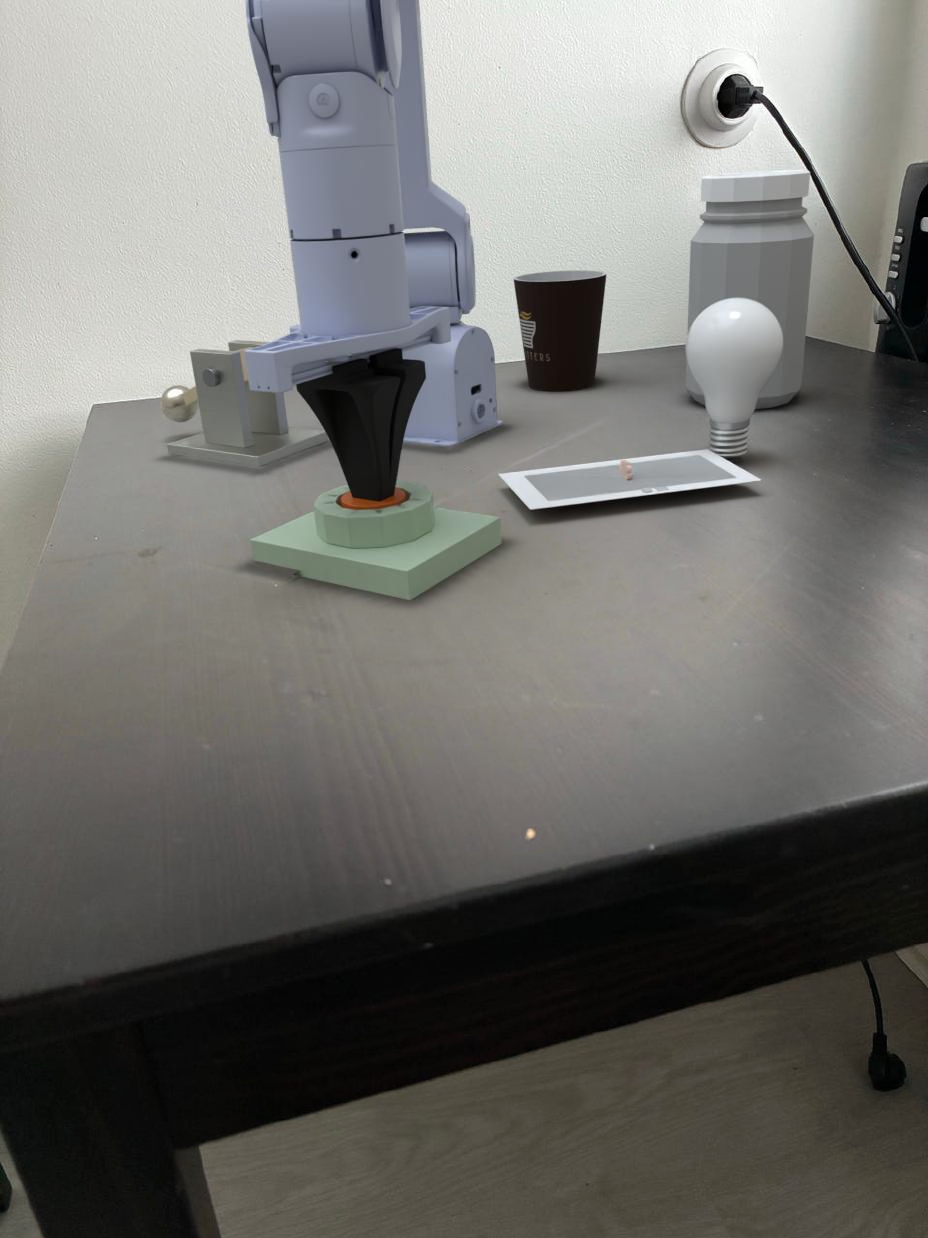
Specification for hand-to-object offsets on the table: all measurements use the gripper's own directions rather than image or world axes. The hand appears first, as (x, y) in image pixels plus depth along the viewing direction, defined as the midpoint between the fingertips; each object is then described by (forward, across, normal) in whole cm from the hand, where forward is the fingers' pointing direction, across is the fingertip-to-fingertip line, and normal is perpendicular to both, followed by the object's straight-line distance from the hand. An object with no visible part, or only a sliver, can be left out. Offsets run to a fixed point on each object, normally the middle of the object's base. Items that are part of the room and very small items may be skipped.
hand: (373, 496), depth 55 cm
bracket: (+3, -14, -24) cm, 28 cm away
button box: (+4, 0, 0) cm, 4 cm away
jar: (+4, -44, +6) cm, 45 cm away
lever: (0, -14, -27) cm, 31 cm away
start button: (+2, 0, 0) cm, 2 cm away
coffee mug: (+4, -46, -13) cm, 48 cm away
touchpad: (+4, -16, +8) cm, 18 cm away
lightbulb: (+4, -26, +11) cm, 28 cm away
